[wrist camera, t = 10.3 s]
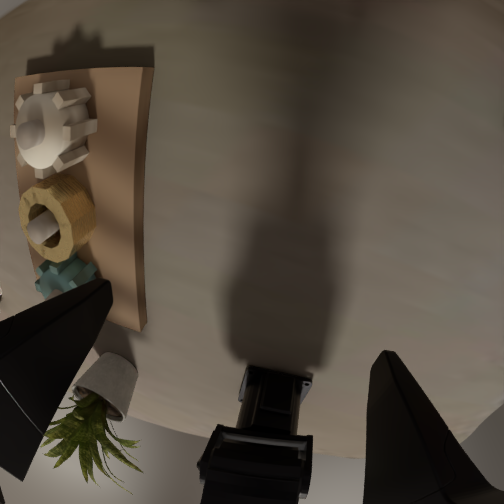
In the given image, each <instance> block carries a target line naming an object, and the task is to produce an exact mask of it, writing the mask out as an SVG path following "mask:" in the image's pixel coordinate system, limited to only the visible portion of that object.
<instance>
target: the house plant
mask: <svg viewBox="0 0 504 504" xmlns="http://www.w3.org/2000/svg"><path fill="white" fill-rule="evenodd" d="M137 378H138V372H137V370H136V368H135V367H134V366H133V365H132V364H131V363H130V362H129V361H128V360H126V359H125V358H123V357H122V356H120V355H117V354H115V353H111V352H106V353H104V354H103V355H102V356H101V357H100V358H99V359H98V360H97V361H96V362H95V363H94V364H93V365H92V366H91V367H90V368H89V369H88V370H87V371H86V372H85V373H84V374H83V375H82V376H81V378H80V379H79V380H78V381H77V382H76V383H75V384H74V385H73V386H72V391H73V393H74V395H75V396H76V398H77V399H78V400H74V399H73V398H74V395H73V397H70V398H69V399H71V400H72V401H74V402H75V403H76V404H77V405H74V406H71V407H75V406H76V407H75V408H74V410H73V412H71V413H69V414H67V415H66V417H64V418H62V419H60V420H57V421H54V422H50V424H49V425H55V424H60V423H61V424H60V425H58V426H56V427H54V428H52V429H50V430H48V431H46V432H45V434H44V435H43V436H46V437H49V439H47V440H46V441H45V442H44V443H43V444H42V445H41V447H43V446H45V445H47V444H49V443H51V442H52V441H54V440H55V439H62V438H64V439H63V440H62V441H61V442H60V443H59V444H58V445H57V446H55V447H54V448H53V449H51V450H50V451H49V452H48V453H47V454H44V455H46V456H49V457H57V456H60V455H61V457H60V458H59V460H58V461H57V463H56V464H55V466H54V468H56V467H58V466H60V465H61V464H62V463H63V462H64V461H65V460H67V459H68V458H69V457H70V456H71V455H72V454H73V452H74V451H75V449H76V448H77V446H78V445H79V459H80V465H81V469H82V472H83V475H84V478H85V480H86V482H87V481H88V475H87V469H88V474H89V475H90V477H91V479H92V480H93V481H94V482H95V480H94V477H93V471H92V468H93V461H92V460H94V462H95V464H96V465H97V467H98V468H99V469H100V470H101V471H102V472H103V473H104V474H105V475H106V473H107V472H106V471H105V472H106V473H105V472H104V470H105V469H104V468H102V467H103V465H102V462H101V459H100V456H99V452H98V447H97V440H98V441H99V442H100V444H101V445H102V452H103V451H104V453H105V454H106V456H107V457H108V458H109V456H108V452H107V450H108V451H109V452H110V453H111V454H112V455H113V456H115V457H116V458H117V459H119V460H120V461H121V462H123V463H124V464H126V465H128V466H129V467H131V468H134V469H136V470H138V471H140V472H142V471H141V470H140V469H139V468H138V467H137V466H135V465H134V464H132V463H131V462H130V461H128V460H127V459H126V458H125V456H124V455H123V454H122V453H121V452H120V451H121V450H118V449H117V448H116V447H115V446H114V445H113V444H112V443H111V441H110V440H109V439H108V438H107V436H106V434H105V429H106V430H107V432H109V434H110V435H111V436H112V437H113V438H114V439H115V440H116V441H118V442H119V443H120V444H122V445H123V446H126V447H129V448H137V447H136V446H132V445H134V444H135V443H137V442H138V441H130V440H123V439H119V438H116V437H115V436H114V435H113V434H112V433H111V431H110V430H109V427H108V424H107V420H110V421H114V422H123V421H125V418H126V415H127V411H128V408H129V405H130V401H131V398H132V394H133V391H134V388H135V384H136V381H137ZM71 407H65V408H60V407H58V408H59V409H68V408H71ZM106 419H107V420H106ZM105 423H106V424H105ZM139 441H140V440H139ZM122 445H121V446H122ZM122 448H123V447H122ZM124 451H125V450H124ZM125 452H126V451H125ZM126 453H127V452H126ZM127 454H128V453H127ZM128 455H129V454H128ZM103 456H104V454H103ZM129 456H130V455H129ZM92 457H93V459H92ZM131 457H132V456H131ZM132 458H133V457H132ZM104 460H105V457H104ZM136 460H137V459H136ZM105 463H106V461H105ZM106 466H107V465H106ZM107 468H108V466H107ZM103 469H104V470H103ZM108 469H109V468H108ZM109 471H110V470H109ZM111 474H112V473H111ZM107 475H108V474H107ZM107 475H106V476H107ZM112 475H113V474H112ZM108 476H109V475H108ZM109 477H110V476H109ZM114 477H115V476H114ZM115 478H116V477H115ZM110 479H112V478H111V477H110ZM112 480H113V479H112ZM113 481H114V480H113ZM114 482H115V481H114ZM95 483H96V482H95ZM115 483H116V482H115ZM116 484H117V483H116ZM117 485H118V484H117ZM119 486H120V485H119ZM120 487H121V486H120ZM121 488H123V487H121ZM123 489H124V488H123ZM126 491H127V490H126ZM131 494H132V493H131Z"/></svg>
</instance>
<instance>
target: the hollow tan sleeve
mask: <svg viewBox="0 0 504 504" xmlns="http://www.w3.org/2000/svg"><path fill="white" fill-rule="evenodd" d="M48 209H49V210H50V211H51V212H52V213H53V214H54V216H55V218H56V220H57V222H58V224H59V227H60V229H59V230H58V231H57V232H55V233H54V234H53V235H51V236H50V237H49V238H47V239H46V240H45V241H44V242H42V243H41V244H36V243H34V242H33V241H32V240H31V238H30V237H29V235H28V231H27V225H28V223H29V222H30V221H32V220H33V219H35V218H36V217H38V216H39V215H41V214H42V213H44V212H45V211H47V210H48ZM19 215H20V221H21V226H22V229H23V231H24V233H25V235H26V237H27V239H28V241H29V243H30V245H31V246H32V247H33V248H34V249H35V250H36V251H37V252H38V253H39V254H40V255H41V256H42V257H43V258H45V259H48V260H51V261H53V262H56V263H58V262H61V261H64V260H66V259H69V258H70V257H71V256H72V255H73V254H74V253H75V252H76V251H78V250H79V249H80V248H81V247H82V246H83V245H84V244H86V243H87V242H88V241H89V240H90V239H91V237H92V234H93V232H94V230H95V228H96V212H95V206H94V204H93V202H92V199H91V197H90V195H89V193H88V191H87V189H86V187H84V186H83V185H82V184H81V183H80V182H79V181H78V180H77V179H76V178H74V177H73V176H72V175H67V174H61V173H57V174H55V175H53V176H51V177H49V178H47V179H45V180H43V181H41V182H40V183H38V184H36V185H34V186H32V187H31V188H30V189H28V190H27V191H26V192H25V193H23V194H22V197H21V201H20V205H19Z"/></svg>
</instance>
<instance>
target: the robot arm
mask: <svg viewBox="0 0 504 504" xmlns="http://www.w3.org/2000/svg"><path fill="white" fill-rule="evenodd" d="M112 305H113V292H112V285H111V282H110V281H109V280H107V279H104V278H101V277H99V278H96V279H94V280H91V281H89V282H87V283H85V284H82V285H80V286H78V287H75V288H73V289H71V290H69V291H66V292H64V293H62V294H60V295H57V296H55V297H53V298H51V299H48V300H46V301H44V302H42V303H40V304H37V305H35V306H33V307H31V308H29V309H27V310H24V311H22V312H20V313H18V314H16V315H15V316H11V317H9V318H7V319H5V320H3V321H0V467H1V468H3V469H4V470H6V471H7V472H8V473H10V474H11V475H13V476H14V477H16V478H18V479H19V480H20V481H22V482H23V480H24V478H25V476H26V474H27V471H28V469H29V467H30V465H31V462H32V460H33V458H34V456H35V454H36V451H37V449H38V447H39V445H40V443H41V441H42V439H43V437H44V436H43V435H44V434H45V432H46V430H47V428H48V426H49V424H50V422H51V420H52V418H53V416H54V414H55V413H56V411H57V409H58V407H59V405H60V403H61V401H62V399H63V397H64V395H65V394H66V392H67V390H68V388H69V386H70V384H71V383H72V381H73V379H74V377H75V376H76V374H77V372H78V370H79V368H80V367H81V365H82V363H83V362H84V360H85V358H86V356H87V355H88V353H89V351H90V350H91V348H92V346H93V344H94V343H95V341H96V339H97V337H98V335H99V333H100V330H101V328H102V326H103V324H104V322H105V320H106V318H107V316H108V313H109V311H110V309H111V307H112ZM311 386H312V380H311V379H308V378H303V377H298V376H293V375H288V374H283V373H279V372H274V371H270V370H265V369H261V368H257V367H252V366H250V367H248V368H247V370H246V373H245V377H244V380H243V384H242V387H241V391H240V394H239V398H238V401H239V402H242V405H241V409H240V413H239V417H238V421H237V425H236V428H233V427H227V426H224V425H220V424H217V427H216V429H215V431H213V433H212V435H211V437H210V440H209V442H208V444H207V447H206V449H205V451H204V453H203V455H202V456H201V458H200V459H199V461H198V462H197V468H198V469H199V471H200V483H201V484H202V485H204V489H203V494H202V499H201V503H200V504H298V501H299V498H300V499H306V497H307V494H308V491H309V486H310V480H311V472H312V451H313V435H307V436H302V435H297V428H298V419H299V409H300V404H301V403H302V401H303V400H304V398H305V396H306V395H307V393H308V391H309V390H310V388H311ZM448 429H449V428H448V426H447V425H446V423H445V422H444V420H443V419H442V417H441V416H440V414H439V413H438V411H437V410H436V409H435V407H434V406H433V404H432V403H431V401H430V400H429V398H428V397H427V395H426V394H425V393H424V391H423V390H422V388H421V387H420V385H419V384H418V383H417V381H416V380H415V378H414V377H413V376H412V374H411V373H410V371H409V370H408V369H407V367H406V366H405V365H404V363H403V362H402V360H401V359H400V358H399V356H398V355H397V354H396V352H394V351H389V350H383V351H382V352H381V353H380V355H379V356H378V358H377V359H376V361H375V362H374V364H373V365H372V367H371V371H370V382H369V393H368V403H367V425H366V464H365V465H366V466H365V482H364V496H363V504H504V491H501V490H499V489H497V488H495V487H493V486H492V485H491V484H490V483H489V482H488V481H487V480H486V479H485V477H484V476H483V475H482V474H481V472H480V471H479V470H478V468H477V467H476V466H475V464H474V463H473V462H472V461H471V459H470V458H469V457H468V455H467V454H466V453H465V451H464V450H463V449H462V447H461V446H460V444H459V443H458V441H457V440H456V438H455V437H454V435H453V434H452V432H451V431H450V430H448ZM0 504H5V501H4V497H3V494H2V491H1V487H0Z"/></svg>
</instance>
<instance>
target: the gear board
mask: <svg viewBox="0 0 504 504" xmlns="http://www.w3.org/2000/svg"><path fill="white" fill-rule="evenodd" d="M153 73H154V68H152V67H109V68H89V69H76V70H65V71H56V72H48V73H41V74H34V75H28V76H22V77H17V78H15V93H14V124H13V125H10V136H11V137H14V138H15V156H16V169H17V179H18V187H19V195H20V201H21V197H22V194H23V193H25V192H26V191H27V190H28V189H30V188H31V187H32V186H34V185H36V184H38V183H40V182H41V181H43V180H45V179H47V178H49V177H51V176H53V175H55V174H57V173H61V174H67V175H72V176H73V177H74V178H76V179H77V180H78V181H79V182H80V183H81V184H82V185H83V186H84V187H86V189H87V191H88V193H89V195H90V197H91V199H92V202H93V204H94V206H95V212H96V228H95V230H94V232H93V234H92V237H91V239H90V240H89V241H88V242H87V243H86V244H84V245H83V246H82V247H81V248H80V249H79V250H78V251H76V252H75V253H74V254H73V255H72V256H71V257H70V258H69V259H66V260H64V261H61V262H58V263H56V262H53V261H51V260H48V259H45V258H43V257H42V256H41V255H40V254H39V253H38V252H37V251H36V250H35V249H34V248H33V247H32V246H31V245H30V243H29V241H28V239H27V241H28V246H29V250H30V254H31V259H32V263H33V267H34V271H35V274H36V278H37V281H36V282H35V286H36V289H37V291H39V292H41V293H42V294H43V296H44V298H45V301H46V300H48V299H51V298H53V297H55V296H57V295H60V294H62V293H64V292H66V291H69V290H71V289H73V288H75V287H78V286H80V285H82V284H85V283H87V282H89V281H91V280H94V279H96V278H99V277H101V278H104V279H107V280H109V281H110V282H111V285H112V292H113V305H112V307H111V309H110V311H109V313H108V316H107V318H106V320H108V321H110V322H113V323H116V324H118V325H121V326H124V327H126V328H129V329H132V330H135V331H138V332H141V331H142V329H143V328H144V326H145V324H146V323H147V315H146V300H145V281H144V250H143V203H144V172H145V154H146V139H147V126H148V115H149V106H150V96H151V88H152V80H153ZM59 229H60V227H59V224H58V222H57V220H56V218H55V216H54V214H53V213H52V212H51V211H50V210H49V209H48V210H47V211H45V212H44V213H42V214H41V215H39V216H38V217H36V218H35V219H33V220H32V221H30V222H29V223H28V225H27V231H28V235H29V237H30V238H31V240H32V241H33V242H34V243H36V244H41V243H42V242H44V241H45V240H46V239H47V238H49V237H50V236H51V235H53V234H54V233H55V232H57V231H58V230H59Z"/></svg>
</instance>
